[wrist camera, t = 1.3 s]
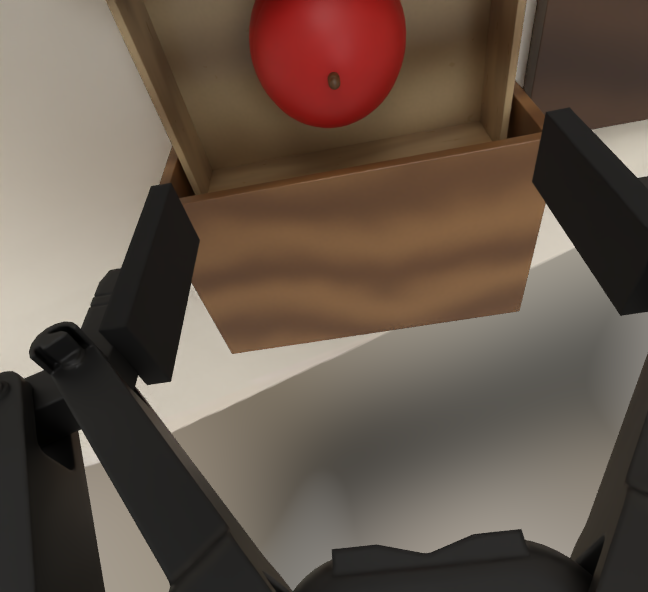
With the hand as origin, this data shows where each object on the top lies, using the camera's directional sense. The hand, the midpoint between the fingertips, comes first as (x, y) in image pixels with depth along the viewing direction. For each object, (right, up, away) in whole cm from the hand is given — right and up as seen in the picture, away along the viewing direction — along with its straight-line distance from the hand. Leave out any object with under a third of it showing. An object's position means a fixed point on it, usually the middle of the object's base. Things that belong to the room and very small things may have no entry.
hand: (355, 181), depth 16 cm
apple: (-1, +14, +13) cm, 19 cm away
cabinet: (+1, +6, +24) cm, 25 cm away
